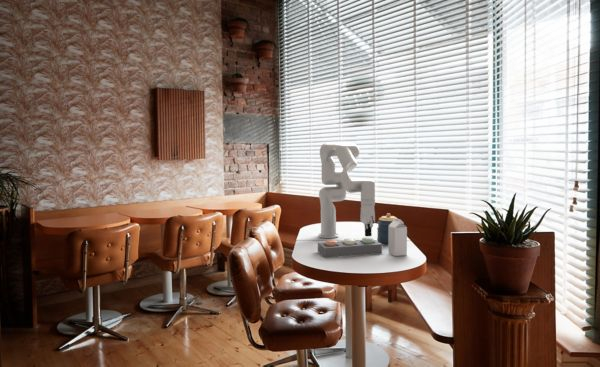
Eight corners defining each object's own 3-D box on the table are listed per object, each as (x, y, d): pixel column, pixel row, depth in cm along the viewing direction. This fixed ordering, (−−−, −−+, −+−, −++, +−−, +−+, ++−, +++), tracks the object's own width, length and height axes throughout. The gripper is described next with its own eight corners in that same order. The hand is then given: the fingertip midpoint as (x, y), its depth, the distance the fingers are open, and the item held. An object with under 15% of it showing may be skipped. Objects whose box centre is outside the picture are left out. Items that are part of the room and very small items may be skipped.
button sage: (360, 242, 233) (360, 237, 232) (370, 241, 234) (370, 237, 234) (364, 245, 227) (364, 240, 227) (375, 244, 228) (375, 239, 228)
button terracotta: (324, 245, 228) (323, 240, 227) (334, 244, 229) (334, 239, 229) (327, 247, 222) (327, 242, 222) (338, 246, 223) (338, 241, 223)
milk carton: (394, 256, 219) (394, 220, 217) (388, 253, 226) (388, 218, 224) (406, 255, 221) (407, 219, 219) (400, 252, 228) (400, 217, 226)
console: (317, 251, 231) (317, 242, 230) (372, 247, 238) (372, 238, 238) (324, 257, 218) (324, 248, 218) (382, 253, 226) (382, 244, 225)
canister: (399, 245, 243) (400, 215, 241) (376, 244, 245) (377, 214, 244) (399, 240, 255) (399, 211, 254) (377, 239, 258) (377, 211, 256)
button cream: (342, 243, 230) (342, 238, 230) (352, 243, 232) (352, 238, 231) (346, 246, 224) (346, 241, 224) (356, 245, 226) (356, 240, 225)
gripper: (356, 201, 235) (356, 234, 236) (366, 204, 220) (367, 239, 221) (368, 200, 236) (369, 233, 238) (380, 203, 222) (380, 238, 223)
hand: (368, 235), depth 230 cm, fingers closed
